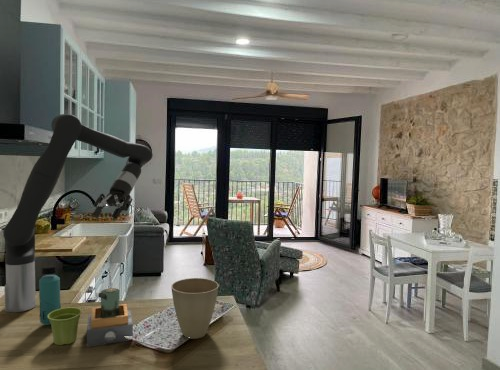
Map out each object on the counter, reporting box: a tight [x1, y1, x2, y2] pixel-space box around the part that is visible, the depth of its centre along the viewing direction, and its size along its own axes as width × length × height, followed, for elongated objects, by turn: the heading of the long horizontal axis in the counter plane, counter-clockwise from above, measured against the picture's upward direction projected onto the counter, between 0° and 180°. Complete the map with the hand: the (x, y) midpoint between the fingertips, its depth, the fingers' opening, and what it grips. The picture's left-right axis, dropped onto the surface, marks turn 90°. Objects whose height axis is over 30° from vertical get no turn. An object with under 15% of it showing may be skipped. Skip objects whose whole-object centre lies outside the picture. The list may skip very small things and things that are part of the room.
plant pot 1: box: [48, 306, 83, 346], centre depth 117 cm, size 9×9×9 cm
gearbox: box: [86, 303, 134, 348], centre depth 121 cm, size 13×14×8 cm
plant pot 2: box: [170, 277, 220, 340], centre depth 123 cm, size 15×15×16 cm
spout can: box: [97, 287, 120, 318], centre depth 120 cm, size 8×6×10 cm
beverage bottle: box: [38, 264, 62, 325], centre depth 128 cm, size 6×7×20 cm
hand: (104, 217), depth 144 cm, fingers open, 8 cm apart
